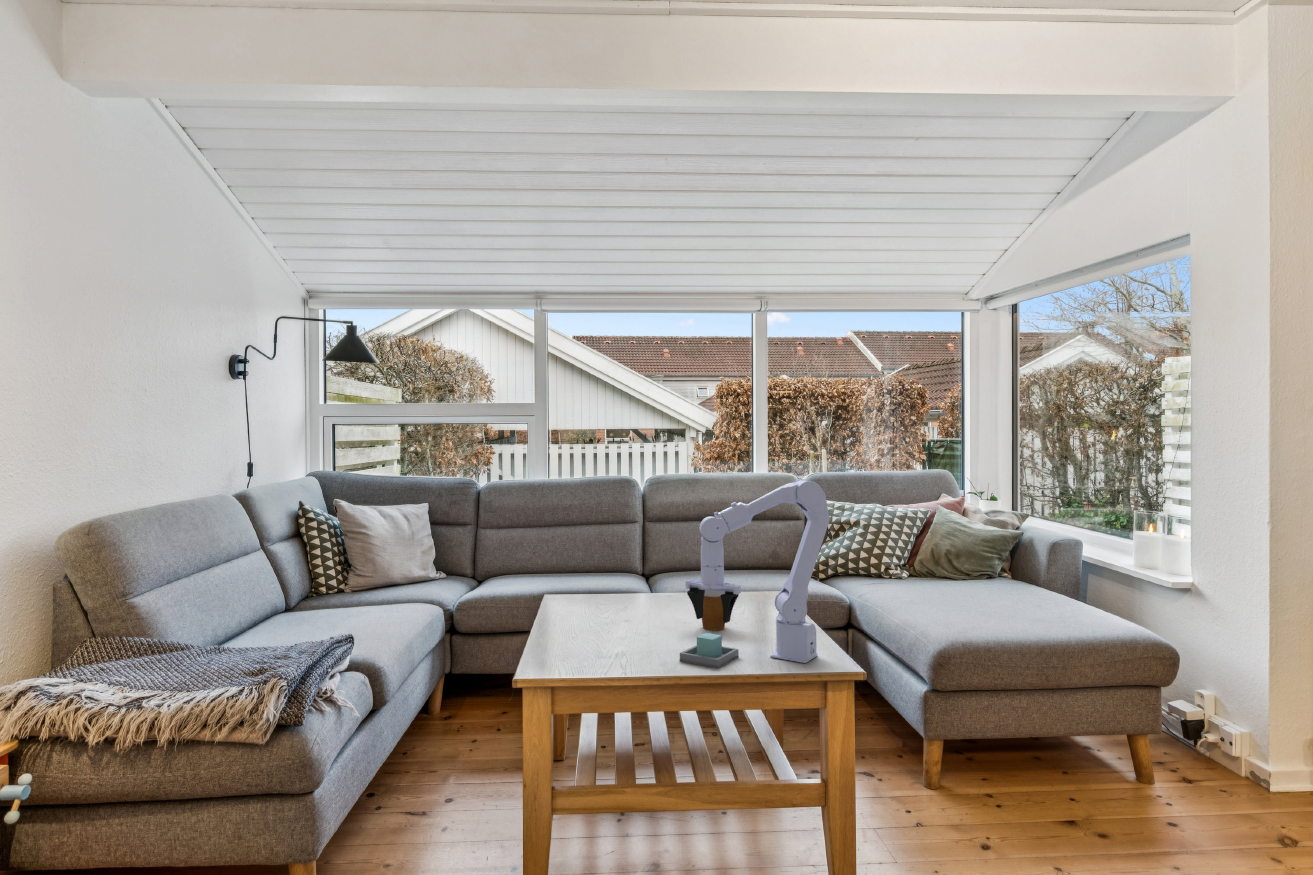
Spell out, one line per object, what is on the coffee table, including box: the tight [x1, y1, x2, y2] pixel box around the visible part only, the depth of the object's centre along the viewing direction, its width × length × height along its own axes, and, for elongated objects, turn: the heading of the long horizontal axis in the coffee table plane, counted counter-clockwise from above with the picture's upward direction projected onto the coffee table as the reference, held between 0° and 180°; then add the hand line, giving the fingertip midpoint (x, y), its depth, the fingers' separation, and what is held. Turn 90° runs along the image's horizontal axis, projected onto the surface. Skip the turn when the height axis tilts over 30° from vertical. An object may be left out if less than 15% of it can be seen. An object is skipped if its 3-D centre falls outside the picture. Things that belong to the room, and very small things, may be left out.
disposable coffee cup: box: [701, 589, 726, 631], centre depth 207 cm, size 10×10×12 cm
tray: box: [679, 644, 739, 669], centre depth 177 cm, size 11×11×2 cm
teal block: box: [696, 632, 723, 658], centre depth 177 cm, size 4×4×5 cm
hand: (713, 620), depth 178 cm, fingers open, 7 cm apart
